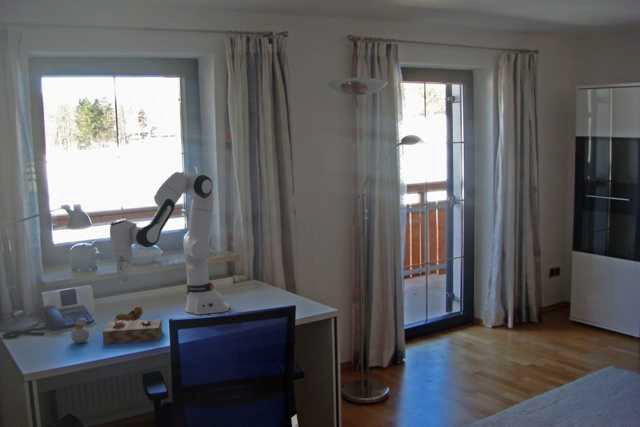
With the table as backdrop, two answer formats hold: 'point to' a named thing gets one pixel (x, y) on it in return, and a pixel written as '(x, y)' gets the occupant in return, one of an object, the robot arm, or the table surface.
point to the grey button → (146, 323)
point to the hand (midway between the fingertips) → (125, 284)
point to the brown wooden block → (132, 332)
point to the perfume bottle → (80, 331)
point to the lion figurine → (130, 315)
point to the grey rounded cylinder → (118, 324)
